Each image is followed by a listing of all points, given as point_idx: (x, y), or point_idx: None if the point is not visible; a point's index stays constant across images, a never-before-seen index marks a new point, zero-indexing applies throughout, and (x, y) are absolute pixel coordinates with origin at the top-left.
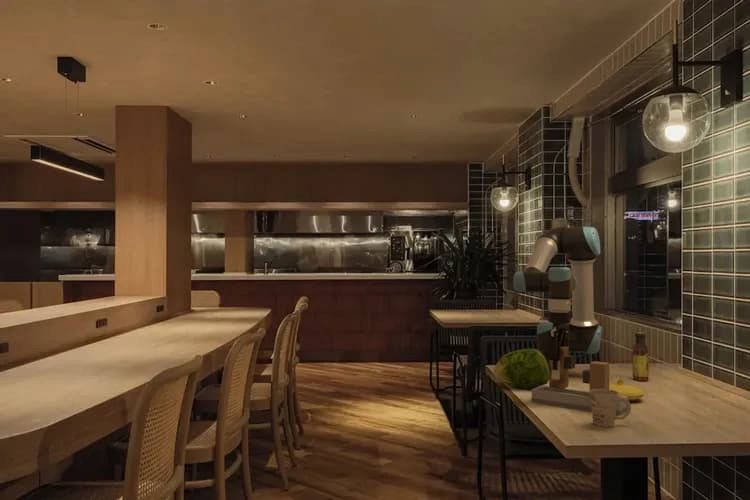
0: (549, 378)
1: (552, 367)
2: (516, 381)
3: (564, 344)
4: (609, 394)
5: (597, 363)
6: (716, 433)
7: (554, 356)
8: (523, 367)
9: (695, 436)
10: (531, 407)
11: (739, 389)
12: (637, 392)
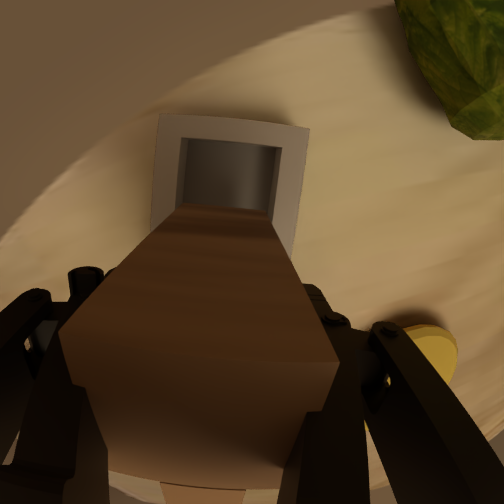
0: (172, 213)
1: (107, 273)
2: (397, 8)
3: (281, 490)
4: (17, 438)
5: (176, 498)
6: (161, 493)
7: (31, 348)
8: (433, 9)
9: (119, 476)
10: (88, 158)
11: (488, 439)
12: (366, 429)
